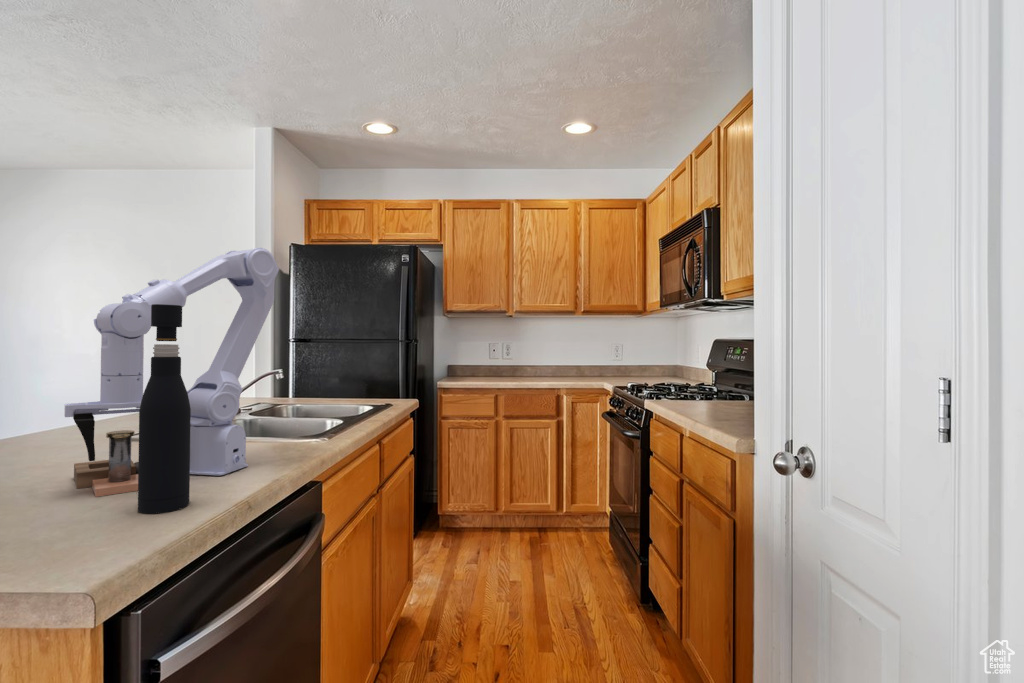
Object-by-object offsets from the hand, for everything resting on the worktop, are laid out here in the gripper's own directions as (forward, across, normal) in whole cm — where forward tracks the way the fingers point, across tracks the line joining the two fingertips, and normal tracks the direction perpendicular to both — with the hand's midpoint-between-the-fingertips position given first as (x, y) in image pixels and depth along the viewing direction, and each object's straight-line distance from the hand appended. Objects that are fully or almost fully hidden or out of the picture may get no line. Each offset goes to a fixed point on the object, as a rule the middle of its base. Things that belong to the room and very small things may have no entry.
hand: (121, 456), depth 88 cm
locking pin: (+4, 0, -1) cm, 4 cm away
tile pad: (+5, 0, 0) cm, 5 cm away
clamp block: (+5, +1, -8) cm, 10 cm away
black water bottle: (+5, -4, +16) cm, 17 cm away
